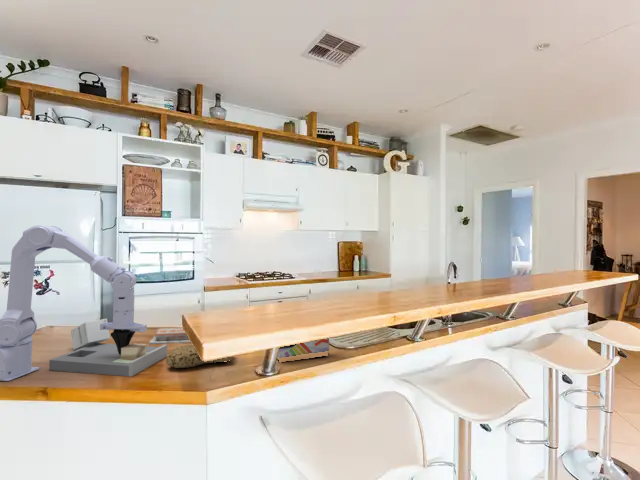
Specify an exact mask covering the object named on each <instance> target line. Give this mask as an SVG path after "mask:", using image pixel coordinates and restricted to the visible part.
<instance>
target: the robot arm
mask: <svg viewBox="0 0 640 480" xmlns="http://www.w3.org/2000/svg"><path fill="white" fill-rule="evenodd" d="M49 249H64V250H66V251H68V252H69V253H71V254H73V255H74V256H76V257H77V258H79V259H81V260H82V261H84V262H86V263H87V264H88V265H89V267H90V270H91V272H93V273H94V274H96V275H97V276H99V277H100V278H101V279H102V280H105V282H107V283H110V286H111V288H112V289H113V308H112V309H113V311H112V322H108V323H107V322H105V323H101V324H100V330H104V329H105V330H109V331H110V330H111V331H112V332H110V338H112V340H113V342H114V344H116V346H117V349H118V353H119V354H120V355H121V348H123V347H125V346H127V345H130V344H131V340H132V339H133V337H134V335H135V334H136V332H139V333H144V332H147V330H148V329H147V324H143V323H142V324H141V323H138V322H137V323H136V322H135V285H136V284H137V276H136V275H135V274H134V273H133V271H131V270H127V268H126V267H125V266H123V267H122V266H120V265H119V264H117V263H116V262H114V261H113V260H114V258H112V257H111V256H106V255H101V256H100V255H98V254H96V253H94V251H92V250H91V249H89V248H88V247H87V246H86V245H85V244H83V243H82V242H80V241H79V240H78V239H77V238H75V237H74V236H73V235H71V234H70V233H69V232H66V231H65V230H63V229H62V228H60V227H58V226H47V225H46V226H45V225H39V224H38V225H34V226H32V227H31V226H30V228H27V229H26V230H24V231H23V232H22V236H21V237H20V238H19V240H18V241H17V242H16V244H15V245H14V246H13V247H12V250H11V257H10V269H9V279H8V280H9V281H8V289H7V290H8V291H7V303H6V310H5V312H4V313H3V315H2V316H1V317H0V381H2V382H3V381H4V382H10V381H12V380H15V379H17V378H20V377H22V376H26V375H28V374H30V373H33V372H35V371H38V370H40V367H38V366H33V365H32V364H33V363H32V362H33V335H34V334H35V333H36V331H37V330H38V329H37V328H38V324H37V322H36V319H35V312H34V311H33V309H32V301H33V300H32V299H33V289H34V287H33V286H34V278H35V277H34V275H35V265H36V263H35V262H36V257H38V255H40V254H42V253H43V252H45V251H46V250H49Z"/></svg>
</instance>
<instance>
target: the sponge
mask: <svg viewBox="0 0 640 480" xmlns="http://www.w3.org/2000/svg"><path fill="white" fill-rule="evenodd" d="M193 345H194V344H188V345H181V346H179V347H175V348H173V349H171V350H170V351H169V352H167V356H166V357H165V358H166V360H165V363H166V364H167V365H168V366H170V367H172V368H176V369H177V368H179V369H184V368H192V367H197V366H202V365H204V364H212V363H213V362H214V363H213V364H215V363H216V362H224V361H229V360H231V361H232V359H233V356H232V357H227V358H222V359H217V360H213V361H207V362H204V361H202V360H201V359H200V357H199V355H198V353H197V351H196V349H195V348H194V346H193ZM216 364H217V363H216Z"/></svg>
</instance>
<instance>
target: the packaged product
mask: <svg viewBox="0 0 640 480" xmlns="http://www.w3.org/2000/svg"><path fill="white" fill-rule="evenodd" d="M183 328H184V327H163V328H160V327H159V328H157V329H156V331H155V332H154V336H153V337H152V338H151V339H150V340H149V342H148V344H149V345H168V344H167V343H169V344H170V343H177V344H186V343H185V342H189V343H188V344H192V343H191V342H190V340H189V338H188V336H187V334H186V333H185V331H184V330H183ZM170 345H171V344H170Z"/></svg>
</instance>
